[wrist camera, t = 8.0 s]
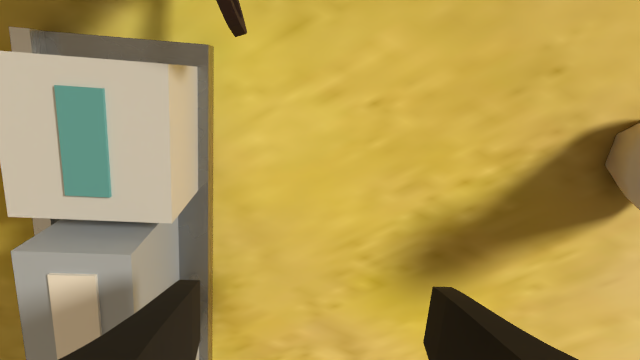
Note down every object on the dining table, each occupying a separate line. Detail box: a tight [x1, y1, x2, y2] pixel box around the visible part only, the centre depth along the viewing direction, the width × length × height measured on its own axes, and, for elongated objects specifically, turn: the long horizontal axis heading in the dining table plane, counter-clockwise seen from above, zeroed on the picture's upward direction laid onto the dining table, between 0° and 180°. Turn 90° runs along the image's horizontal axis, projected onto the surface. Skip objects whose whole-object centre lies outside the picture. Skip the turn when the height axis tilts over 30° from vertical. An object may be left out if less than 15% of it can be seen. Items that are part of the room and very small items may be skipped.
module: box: [0, 51, 198, 224], centre depth 16 cm, size 6×6×5 cm
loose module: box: [11, 217, 179, 360], centre depth 17 cm, size 6×4×6 cm, turn 176°
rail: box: [9, 27, 213, 360], centre depth 20 cm, size 22×8×2 cm, turn 176°
